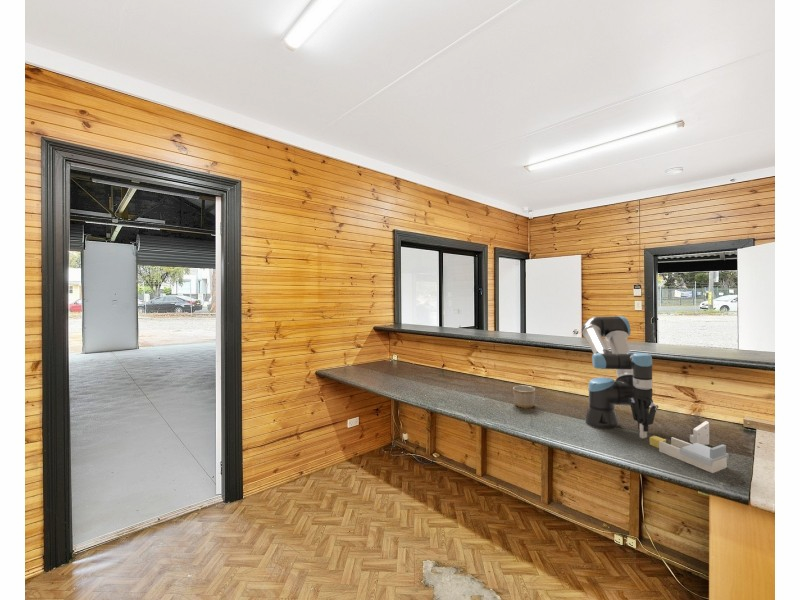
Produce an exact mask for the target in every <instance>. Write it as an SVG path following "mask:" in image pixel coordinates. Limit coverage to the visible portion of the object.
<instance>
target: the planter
mask: <svg viewBox="0 0 800 600" xmlns="http://www.w3.org/2000/svg"><path fill="white" fill-rule="evenodd" d="M512 391H513V398H514V405H515V406H516V407H517V406H518V408H520V407H521V409H531V408H533V407H534V405H535V398H536V397H535V396H536V388H535V387H533V386H530V385H525V384H524V385H516V386H513V387H512Z"/></svg>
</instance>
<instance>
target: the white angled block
mask: <svg viewBox="0 0 800 600" xmlns="http://www.w3.org/2000/svg"><path fill="white" fill-rule="evenodd" d="M692 433H693V434H689V443H690V444H693V443H699V444H702V445H705V446H708V445H710V422H709V421H707V420H705V421H703V422H701V423H700V424H699V425H697V426H696V427H694V428H693V430H692Z"/></svg>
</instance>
